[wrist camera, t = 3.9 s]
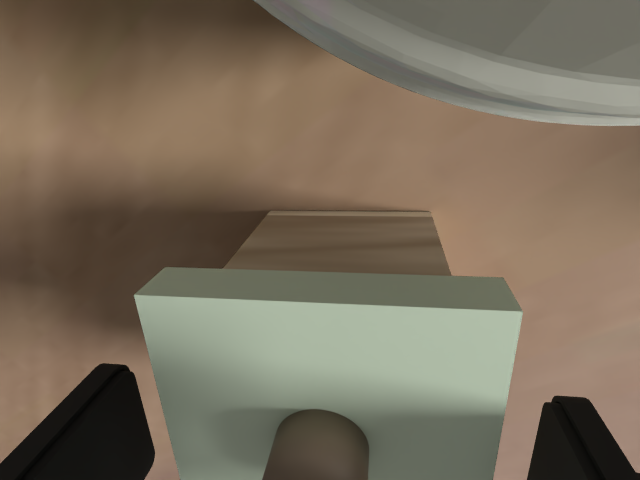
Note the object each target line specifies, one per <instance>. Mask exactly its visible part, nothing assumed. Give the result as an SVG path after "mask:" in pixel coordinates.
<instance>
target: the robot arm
mask: <svg viewBox="0 0 640 480" xmlns="http://www.w3.org/2000/svg"><path fill="white" fill-rule="evenodd" d="M154 458H155V450H154V446H153V442H152V438H151V435H150V431H149V427H148V423H147V419H146V416H145V412H144V408H143V404H142V401H141V397H140V393H139V389H138V385H137V382H136V378H135V375H134V373H133V372H130V370H129V368H128V367H127V366H126V365H120V364H106V363H103V364H100V365H98V366H97V367H96V368H95V369H94V370H93V371H92V372H91V373H90V374H89V375H88V376H87V377H86V378H85V379H84V380H83V381H82V382H81V383H80V384H79V385H78V386H77V387H76V388H75V389H74V390H73V391H72V392H71V393H70V394H69V395H68V396H67V397H66V398H65V399H64V400H63V401H62V402H61V403H60V404H59V405H58V406H57V407H56V408H55V409H54V410H53V411H52V412H51V413H50V414H49V415H48V416H47V417H46V418H45V419H44V420H43V421H42V422H41V423H40V424H39V425H38V426H37V427H36V428H35V429H34V430H33V431H32V432H31V433H30V434H29V435H28V436H27V437H26V438H25V439H24V440H23V441H22V442H21V443H20V444H19V445H18V446H17V447H16V448H15V449H14V450H13V451H12V452H11V453H10V454H9V455H8V456H7V457H6V458H5V459H4V460H3V461H2V462H1V463H0V480H144V479H145V477H146V476H147V474H148V472H149V471H150V469H151V467H152V465H153V462H154ZM527 480H640V473H636V472H635V471H634V469H633V468H632V466H631V464H630V463H629V461H628V460H627V458H626V457H625V455H624V453H623V452H622V450H621V449H620V447H619V446H618V444H617V442H616V441H615V439H614V438H613V436H612V434H611V433H610V431H609V430H608V428H607V427H606V425H605V423H604V422H603V420H602V419H601V417H600V416H599V414H598V412H597V411H596V409H595V408H594V406H593V405H592V403H591V402H590V401H589V400H588V399H587V398H583V397H569V396H554V397H553V399H552V402H551V403H550V402H545V403H544V405H543V408H542V413H541V417H540V422H539V427H538V431H537V436H536V440H535V445H534V450H533V454H532V459H531V463H530V468H529V473H528V477H527Z"/></svg>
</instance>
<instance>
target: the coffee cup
mask: <svg viewBox="0 0 640 480" xmlns="http://www.w3.org/2000/svg"><path fill="white" fill-rule="evenodd" d="M253 1H255V2H256V3H257V4H258V5H260V6H261V7H262V8H264V9H265V10H266V11H268V12H269V13H270V14H272V15H273V16H274V17H276V18H277V19H278V20H280V21H281V22H283V23H284V24H285V25H287V26H288V27H290V28H291V29H292V30H294V31H295V32H297V33H298V34H300V35H302V36H303V37H305V38H306V39H308V40H309V41H311V42H312V43H314V44H316V45H317V46H319V47H321V48H322V49H324V50H326V51H327V52H329V53H331V54H333V55H334V56H336V57H338V58H340V59H342V60H344V61H345V62H347V63H349V64H351V65H353V66H355V67H357V68H359V69H361V70H363V71H365V72H367V73H369V74H371V75H374V76H376V77H378V78H381V79H383V80H385V81H387V82H390V83H392V84H395V85H397V86H400V87H402V88H405V89H407V90H410V91H413V92H416V93H418V94H421V95H424V96H427V97H430V98H433V99H436V100H440V101H443V102H446V103H449V104H453V105H457V106H461V107H464V108H468V109H472V110H476V111H481V112H486V113H490V114H495V115H500V116H506V117H512V118H518V119H525V120H532V121H539V122H550V123H560V124H574V125H596V126H639V125H640V0H253Z"/></svg>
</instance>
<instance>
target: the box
mask: <svg viewBox="0 0 640 480" xmlns="http://www.w3.org/2000/svg"><path fill="white" fill-rule="evenodd" d="M223 269H245V270H278V271H310V272H342V273H375V274H407V275H439V276H452V275H451V272H450V269H449V266H448V263H447V260H446V257H445V254H444V251H443V248H442V245H441V242H440V239H439V236H438V233H437V230H436V227H435V224H434V221H433V218H432V215H431V212H383V211H270V212H269V213H268V214H267V215H266V216H265V218H264V219H263V220H262V221H261V223H260V224H259V225H258V226H257V227H256V229H255V230H254V231H253V232H252V234H251V235H250V236H249V237H248V238H247V240H246V241H245V242H244V243H243V245H242V246H241V247H240V248H239V249H238V251H237V252H236V253H235V254H234V255H233V257H232V258H231V259H230V260H229V262H228V263H227V264H226V265H225V266H224V268H223Z"/></svg>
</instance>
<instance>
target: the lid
mask: <svg viewBox="0 0 640 480" xmlns="http://www.w3.org/2000/svg"><path fill="white" fill-rule="evenodd" d="M134 298H135V302H136V306H137V310H138V314H139V318H140V322H141V325H142V329H143V333H144V337H145V341H146V345H147V349H148V353H149V357H150V361H151V365H152V369H153V373H154V377H155V381H156V385H157V389H158V393H159V397H160V401H161V405H162V409H163V413H164V417H165V421H166V425H167V429H168V433H169V436H170V440H171V444H172V448H173V452H174V456H175V460H176V464H177V468H178V472H179V476H180V480H493V476H494V470H495V465H496V459H497V454H498V448H499V443H500V437H501V431H502V426H503V420H504V415H505V409H506V403H507V398H508V392H509V387H510V381H511V375H512V370H513V364H514V359H515V353H516V348H517V342H518V336H519V331H520V325H521V320H522V314H523V311H522V309H521V307H520V306H519V304H518V302H517V300H516V299H515V297H514V295H513V294H512V292H511V290H510V288H509V287H508V285H507V283H506V281H505V280H504V278H503V277H472V276H439V275H407V274H375V273H342V272H310V271H278V270H245V269H213V268H180V267H165V268H163V269H162V270H161V271H160V272H159V273H158V274H157V275H156V276H154V277H153V278H152V279H151V280H150V281H149V282H148V283H147V284H146V285H144V286H143V287H142V288H141V289H140V290H139V291H138V292H137V293H135V294H134Z"/></svg>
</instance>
